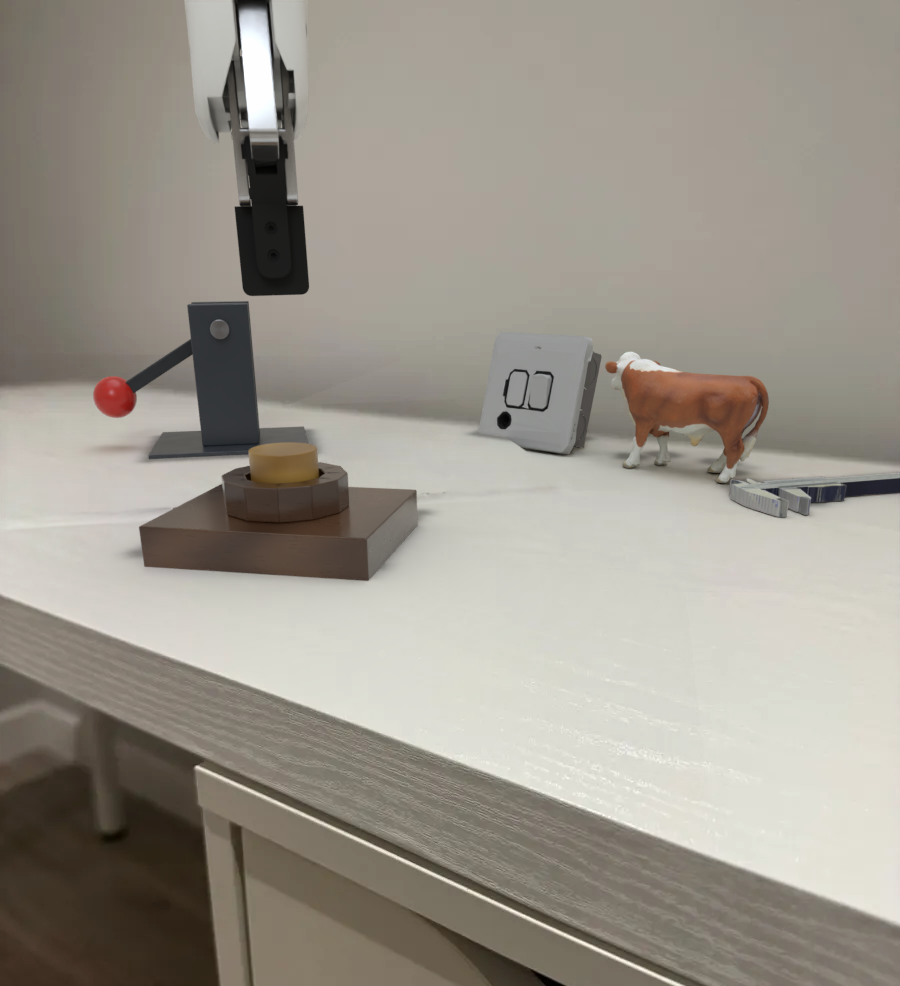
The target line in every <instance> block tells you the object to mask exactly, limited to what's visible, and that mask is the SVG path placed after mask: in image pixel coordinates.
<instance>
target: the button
mask: <svg viewBox="0 0 900 986" xmlns="http://www.w3.org/2000/svg"><path fill="white" fill-rule="evenodd" d="M248 453H249V455H248V462H249V463H248V464H249V466H250V475H251V481H254V482H258V483H291V482H302V481H307V480H311V479H316V478H319V467H318V462H319V453H318V447H317V446H316V445H314V444H311V443H308V444H307V443H295V442H286V443H271V444H264V445H259V446H255V447H253V448H251V449H249V451H248Z"/></svg>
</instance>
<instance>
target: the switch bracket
mask: <svg viewBox="0 0 900 986" xmlns="http://www.w3.org/2000/svg"><path fill="white" fill-rule="evenodd" d="M186 306H187V307H186V308H187V315H188V317H187V318H188V326H189V334H190V339H191V345H192V361H193V372H194V379H195V380H194V381H195V389H196V397H197V407H198V417H199V426H200V430H184V431H163V432H162V433H160V435H159V437H158V439H157V440H156V443H155V444H154V445H153V447H152V449H151V450H150V452H149V454H148V460H160V459H162V460H163V459H164V460H165V459H180V458H181V459H182V458H183V459H184V458H185V459H186V458H204V457H207V458H208V457H226V456H245V455H246V456H249V453H248V451H249V449H251V448H253V447H255V446H259V445H264V444H271V443H286V442H295V443H307V444H309V440H308V437H307V433H306V429H305V426H304V425H303V426H301V425H300V426H278V427H277V426H276V427H260V418H259V416H260V415H259V407H258V406H259V405H258V394H257V382H256V371H255V361H254V360H255V359H254V348H253V338H252V337H253V335H252V324H251V313H250V312H251V311H250V302H249V300H232V301H231V300H230V301H229V300H228V301H227V300H226V301H223V300H222V301H219V300H218V301H191V302H190V303H188V304H187V305H186Z"/></svg>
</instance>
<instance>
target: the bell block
mask: <svg viewBox="0 0 900 986" xmlns="http://www.w3.org/2000/svg"><path fill="white" fill-rule="evenodd" d="M318 467H319V478H316V479H311V480H307V481H302V482H291V483H258V482H254V481H251V475H250V465H246V466H241V467H236V468H233V469H231V470H229V471H228V472H226V473H224V474H222V475H221V483H220V484H218V485H217V486H215V487H213V488H210V489H209V490H207V491H205V492H203V493H201V494H199V495H197V496H195V497H194V498H191V499H189V500H187V501H186V502H184V503H182V504H179V505H177V506H176V507H174V508H172V509H170V510H168V511H166V512H164V513H163V514H161V515H158V516H157V517H155V518H153V519H150V520H149V521H147V522H145V523H143V524H141V525H139V527H138V530H139V531H138V532H139V538H140V547H141V553H142V559H143V567H145V568H156V569H157V568H161V569H176V570H189V571H190V570H191V571H205V572H221V573H237V574H239V573H240V574H254V575H270V576H286V577H298V578H299V577H301V578H318V579H331V580H346V581H347V580H348V581H364V582H368V581H370V580H371V579H372V577H373V576H375V574H377V572H378V571H379V570H380V568H381V567H382V566H383V565H384V564H385V563H386V562H387V561H388V560H389V558H390V557H391V556H392V555H393V554H394V553H395V551H396V550H397V549H398V548H399V547H400V546H401V544H402V543H403V542H404V541H405V540H406V539H407V538H408V536H409V535H410V534H412V532H413V531H414V530H415V529H416V528H417V527H418V492H417V489H411V488H410V489H408V488H387V487H385V488H384V487H361V486H360V487H359V486H349V474H348V472H347V471H346V470H345V469H344V468H343V467H342V465H338V464H337V465H336V464H332V463H327V462H322V461H320V462H319V461H318Z"/></svg>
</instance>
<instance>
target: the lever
mask: <svg viewBox="0 0 900 986" xmlns="http://www.w3.org/2000/svg"><path fill="white" fill-rule="evenodd" d="M191 356H193V354H192V345H191V338H190V339H187V340H186V341H185V342H183V343H182V344H181V345H179V346H178V347H176V348H175V349H173V350H171V351H170V352H168V353H167V354H165V355H164V356H162V357H161V358H159V359H158V360H156V361H154V362H153V363H152V364H150V365H149V366H147V367H146V368H143V370H141V371H139V372H138V373H137V374H135V375H134V376H132V377H131V378H129V379H125V378H124V377H121V376H118V375H117V376H116V375H110V376H105V377H103V378H101V379H100V380H99V381H98V382H97V383H96V384H95V386H94V389H93V392H92V397H93V398H92V399H93V402H94V405H95V407H96V408H97V409H98V411H99V412H100V413H102V414H103V415H105V416H107V417H109V418H112V419H119V418H120V419H121V418H124V417H126V416H128V415H130V414H131V413H132V412H133V411H134V410H135V408H136V406H137V401H138V396H137V392H138V391H139V390H141V389H143V388H144V387H146V386H147V385H149V384H151V382H153V381H155V380H156V379H158V378H159V377H161V376H162V375H164V374H166V373H167V372H169V371H170V370H171V369H174V367H177V365H179V364H181V363H182V362H184V361H185V360H187V359H188V358H189V357H191Z"/></svg>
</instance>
